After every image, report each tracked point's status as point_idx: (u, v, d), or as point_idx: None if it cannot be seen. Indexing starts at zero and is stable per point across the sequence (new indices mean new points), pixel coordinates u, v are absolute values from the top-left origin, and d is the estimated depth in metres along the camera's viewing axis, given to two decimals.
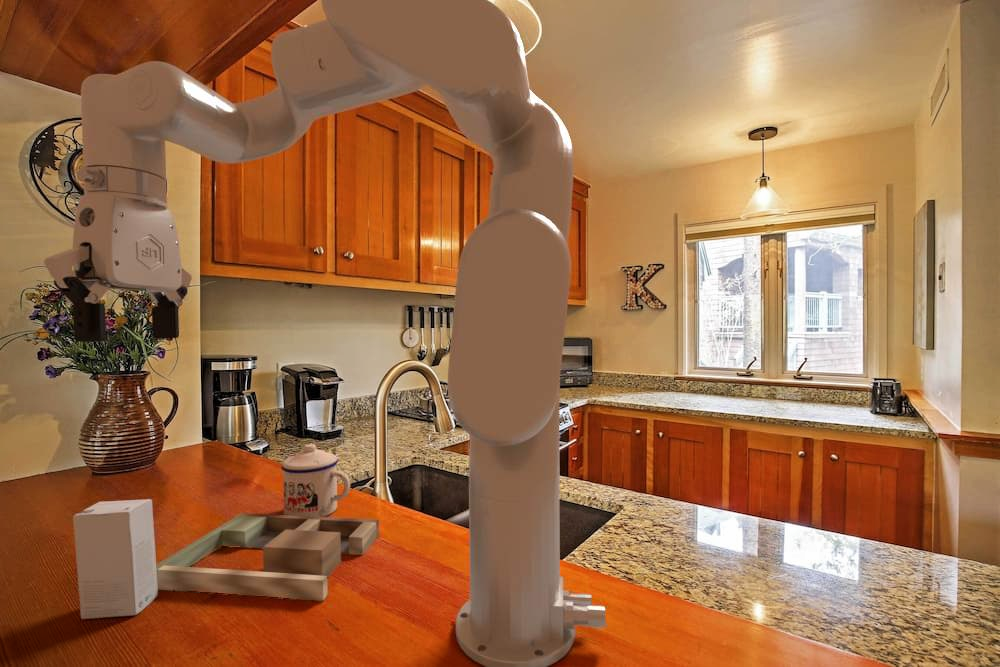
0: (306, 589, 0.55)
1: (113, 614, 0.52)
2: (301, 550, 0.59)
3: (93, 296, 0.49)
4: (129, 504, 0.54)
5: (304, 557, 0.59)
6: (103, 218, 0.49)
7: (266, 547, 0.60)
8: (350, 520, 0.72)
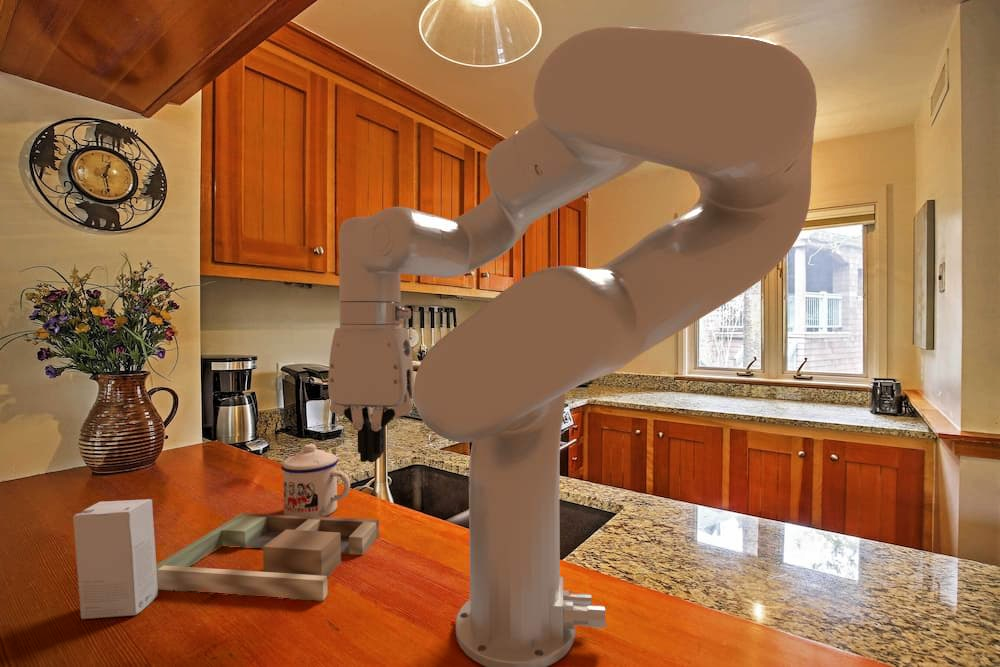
0: (306, 589, 0.55)
1: (113, 614, 0.52)
2: (300, 550, 0.59)
3: None
4: (129, 504, 0.54)
5: (304, 557, 0.59)
6: (410, 348, 0.61)
7: (266, 547, 0.60)
8: (350, 520, 0.72)
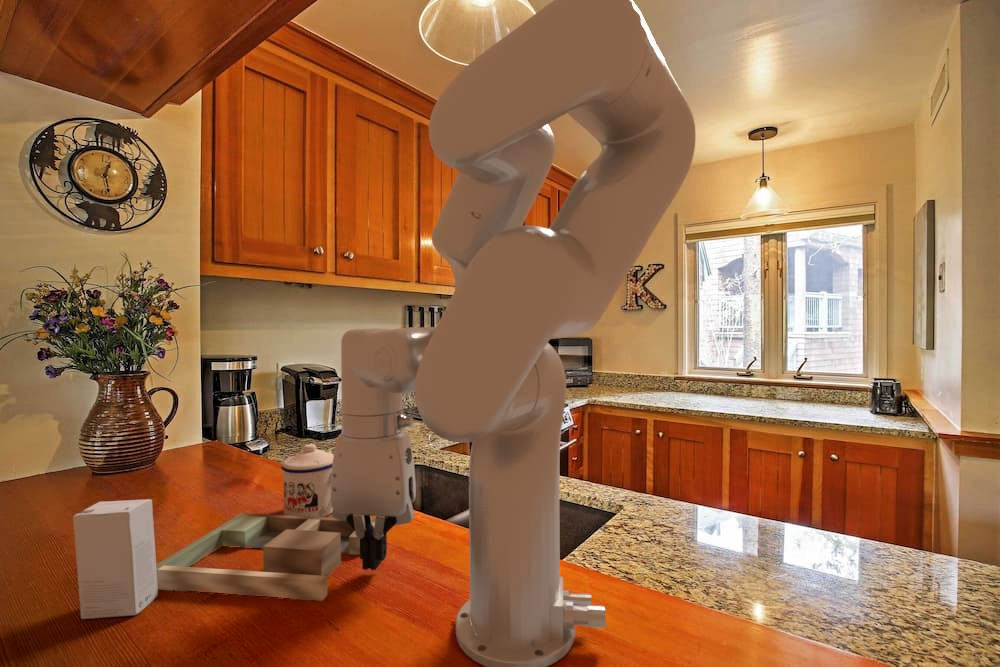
0: (306, 589, 0.55)
1: (113, 614, 0.52)
2: (300, 550, 0.59)
3: None
4: (129, 504, 0.54)
5: (304, 557, 0.59)
6: (412, 453, 0.61)
7: (266, 546, 0.60)
8: None
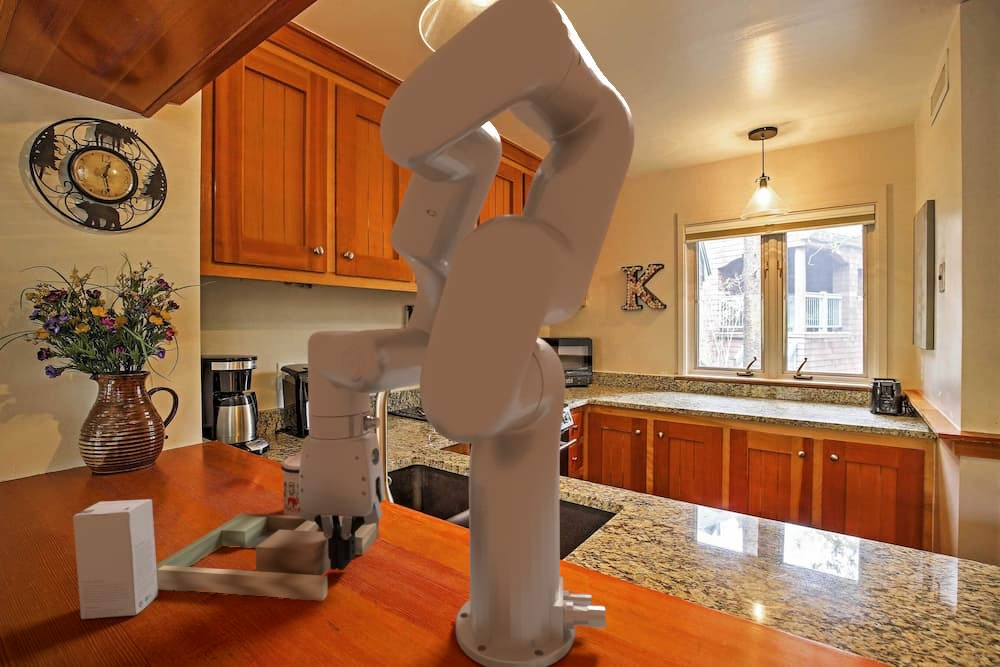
0: (306, 589, 0.55)
1: (113, 614, 0.52)
2: (293, 550, 0.59)
3: None
4: (129, 504, 0.54)
5: (297, 557, 0.59)
6: (380, 453, 0.62)
7: (259, 547, 0.60)
8: None
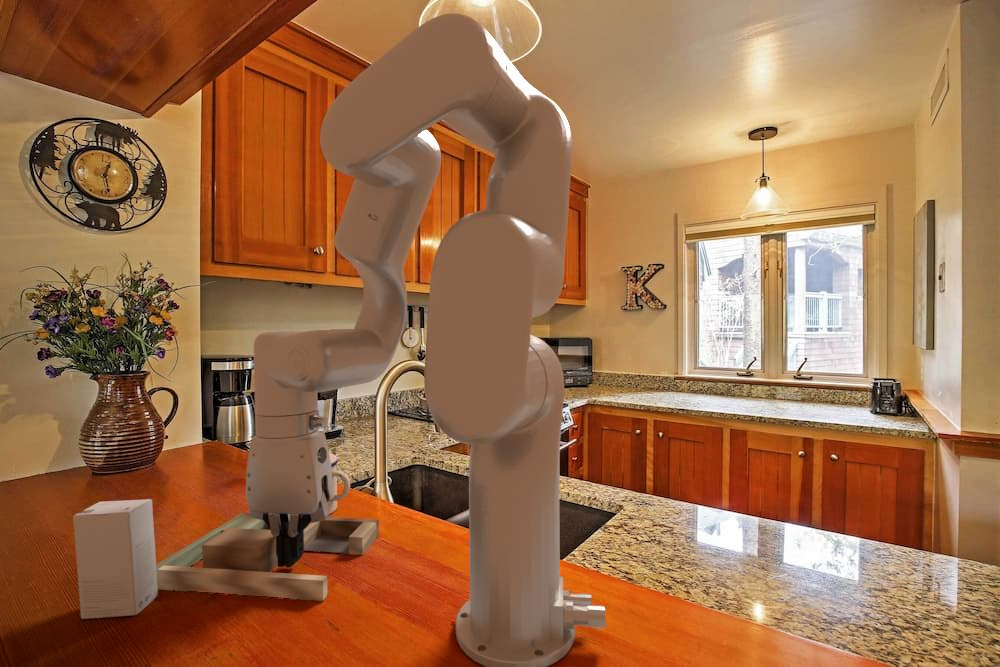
0: (306, 589, 0.55)
1: (113, 614, 0.52)
2: (239, 548, 0.60)
3: None
4: (129, 504, 0.54)
5: (243, 555, 0.60)
6: (328, 452, 0.63)
7: (205, 545, 0.60)
8: (350, 520, 0.72)
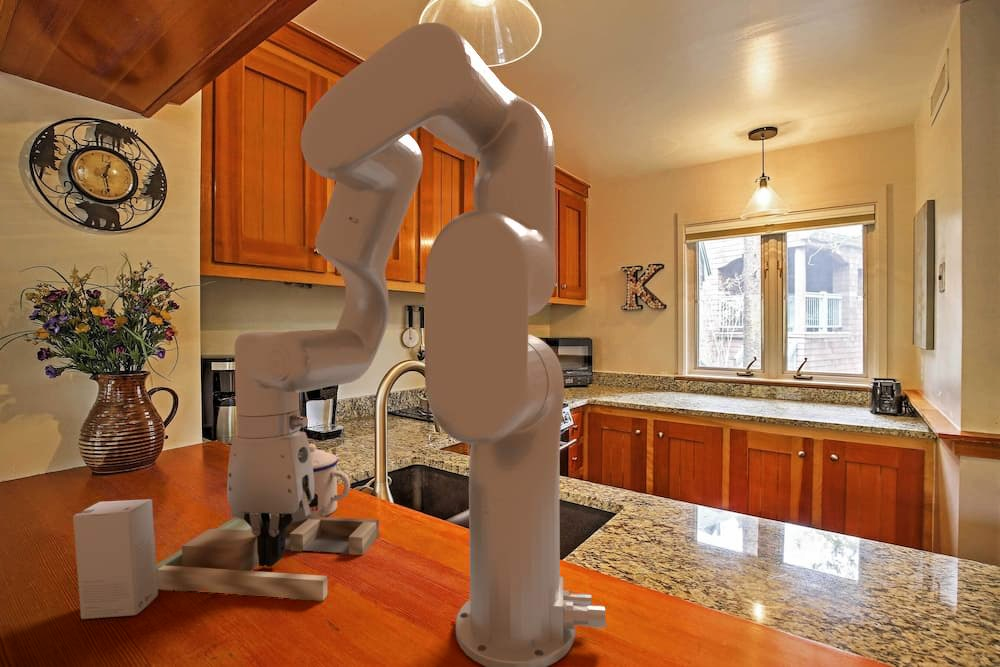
0: (306, 589, 0.55)
1: (113, 614, 0.52)
2: (219, 548, 0.60)
3: None
4: (129, 504, 0.54)
5: (223, 555, 0.60)
6: (310, 452, 0.63)
7: (185, 546, 0.60)
8: (350, 520, 0.72)
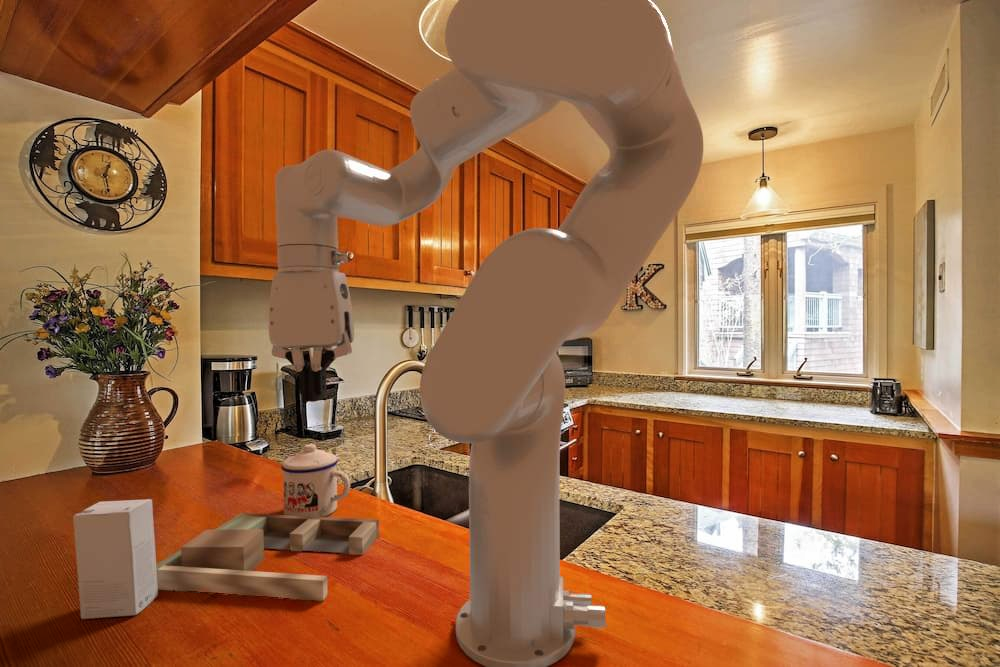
0: (306, 589, 0.55)
1: (113, 614, 0.52)
2: (221, 548, 0.60)
3: None
4: (129, 504, 0.54)
5: (225, 554, 0.60)
6: (349, 293, 0.64)
7: (185, 547, 0.60)
8: (350, 520, 0.72)
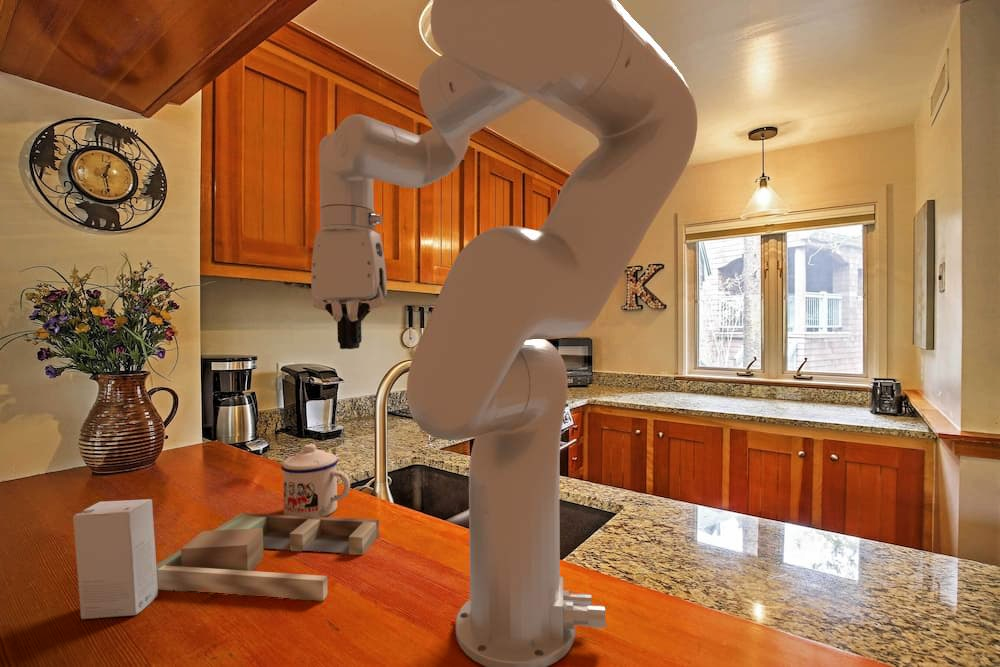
0: (306, 589, 0.55)
1: (113, 614, 0.52)
2: (224, 547, 0.60)
3: None
4: (129, 504, 0.54)
5: (228, 553, 0.60)
6: None
7: (185, 548, 0.59)
8: (350, 520, 0.72)
